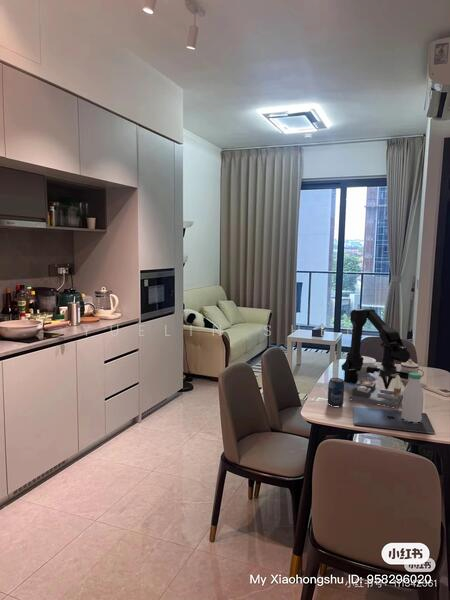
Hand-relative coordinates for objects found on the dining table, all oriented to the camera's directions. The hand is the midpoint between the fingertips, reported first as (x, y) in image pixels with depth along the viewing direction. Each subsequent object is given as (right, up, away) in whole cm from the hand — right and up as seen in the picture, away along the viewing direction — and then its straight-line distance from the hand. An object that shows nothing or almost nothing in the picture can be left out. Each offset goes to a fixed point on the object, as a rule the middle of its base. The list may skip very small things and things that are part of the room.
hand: (386, 389), depth 205 cm
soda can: (-27, -6, -9) cm, 29 cm away
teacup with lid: (+25, -2, +30) cm, 39 cm away
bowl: (+1, 0, +43) cm, 43 cm away
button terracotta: (-6, -2, +10) cm, 12 cm away
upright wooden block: (+4, -3, -2) cm, 5 cm away
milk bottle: (+1, -8, -25) cm, 26 cm away
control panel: (-4, -5, +2) cm, 6 cm away
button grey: (-12, -2, 0) cm, 12 cm away
